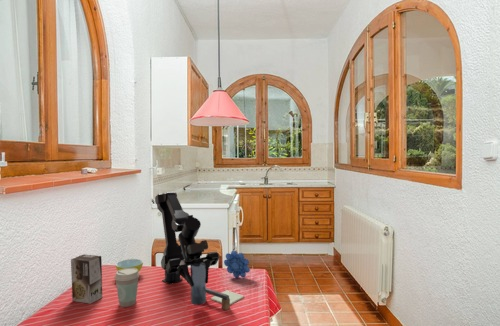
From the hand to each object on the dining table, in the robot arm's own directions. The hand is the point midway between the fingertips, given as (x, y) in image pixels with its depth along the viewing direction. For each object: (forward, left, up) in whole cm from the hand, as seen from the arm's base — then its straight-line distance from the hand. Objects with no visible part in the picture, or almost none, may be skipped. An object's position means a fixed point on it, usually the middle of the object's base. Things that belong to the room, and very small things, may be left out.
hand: (199, 284), depth 114 cm
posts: (0, +7, -10) cm, 12 cm away
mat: (+1, +14, -10) cm, 17 cm away
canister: (-1, +1, -7) cm, 7 cm away
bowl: (-50, +5, -10) cm, 51 cm away
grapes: (-9, +31, -10) cm, 34 cm away
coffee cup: (-26, -11, -10) cm, 30 cm away
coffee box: (-42, -18, -10) cm, 47 cm away
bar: (0, +7, -6) cm, 9 cm away
